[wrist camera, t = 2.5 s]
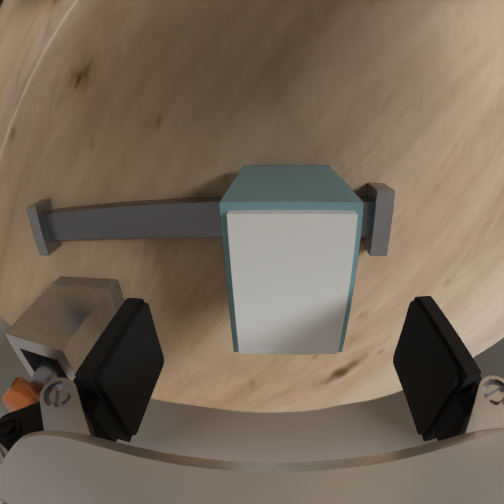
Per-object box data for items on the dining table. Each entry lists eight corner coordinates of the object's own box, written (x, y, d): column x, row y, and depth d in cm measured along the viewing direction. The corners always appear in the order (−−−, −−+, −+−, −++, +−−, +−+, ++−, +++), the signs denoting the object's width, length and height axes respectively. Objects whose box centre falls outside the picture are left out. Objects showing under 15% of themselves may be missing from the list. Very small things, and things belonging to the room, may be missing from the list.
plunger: (77, 332, 19) (25, 408, 12) (95, 368, 21) (54, 441, 14) (44, 325, 20) (-7, 391, 12) (62, 360, 21) (21, 423, 14)
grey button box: (117, 279, 23) (62, 350, 15) (138, 343, 27) (102, 415, 19) (60, 276, 24) (4, 333, 16) (84, 335, 27) (43, 395, 19)
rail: (384, 183, 18) (394, 191, 16) (378, 243, 20) (386, 255, 18) (41, 199, 21) (26, 207, 19) (52, 245, 23) (40, 255, 21)
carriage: (325, 162, 18) (366, 206, 9) (321, 261, 21) (343, 357, 12) (245, 162, 18) (216, 206, 10) (250, 261, 21) (232, 357, 13)
